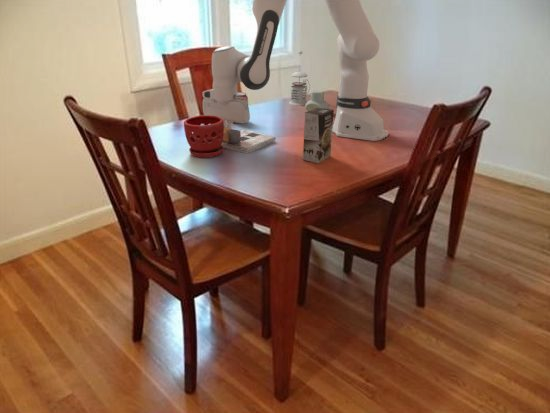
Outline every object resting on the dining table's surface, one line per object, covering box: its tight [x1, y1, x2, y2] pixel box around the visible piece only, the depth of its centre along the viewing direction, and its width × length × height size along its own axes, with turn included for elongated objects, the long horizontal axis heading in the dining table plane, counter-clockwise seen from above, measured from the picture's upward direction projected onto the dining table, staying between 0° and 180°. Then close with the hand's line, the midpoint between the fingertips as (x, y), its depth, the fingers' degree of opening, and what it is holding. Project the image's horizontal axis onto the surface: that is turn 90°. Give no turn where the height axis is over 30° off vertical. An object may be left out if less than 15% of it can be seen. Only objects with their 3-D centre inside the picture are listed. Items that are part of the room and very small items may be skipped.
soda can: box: [234, 91, 249, 124], centre depth 190 cm, size 7×7×12 cm
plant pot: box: [183, 114, 224, 159], centre depth 152 cm, size 13×13×12 cm
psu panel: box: [221, 129, 276, 154], centre depth 165 cm, size 16×17×2 cm
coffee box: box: [302, 108, 335, 164], centre depth 149 cm, size 9×6×16 cm
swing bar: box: [223, 127, 241, 143], centre depth 163 cm, size 5×16×3 cm, turn 48°
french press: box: [288, 50, 311, 106], centre depth 221 cm, size 10×12×25 cm
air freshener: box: [304, 89, 330, 112], centre depth 207 cm, size 11×8×10 cm
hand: (226, 130), depth 170 cm, fingers closed
